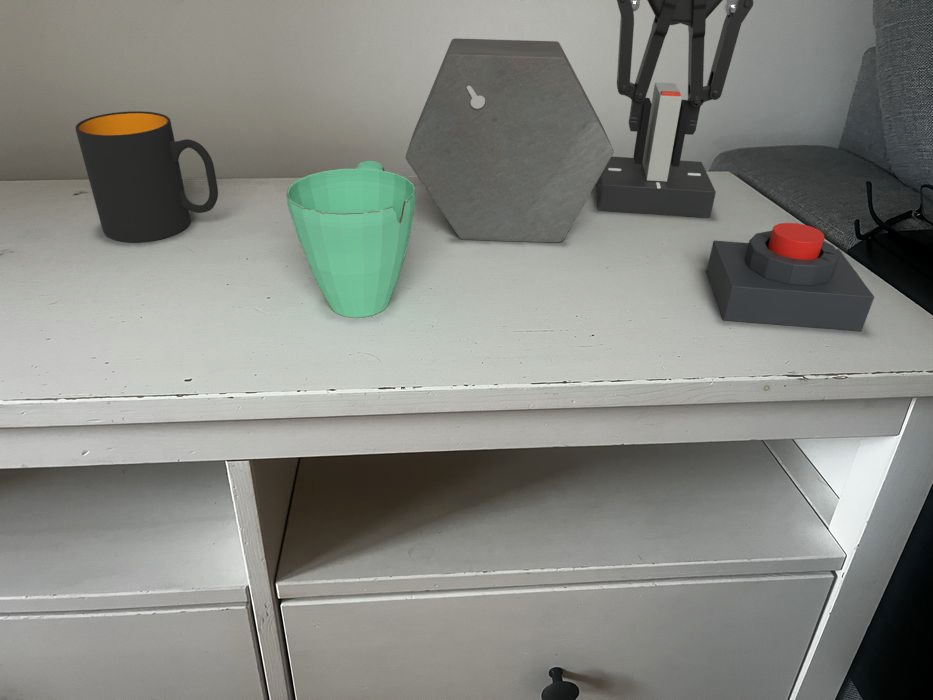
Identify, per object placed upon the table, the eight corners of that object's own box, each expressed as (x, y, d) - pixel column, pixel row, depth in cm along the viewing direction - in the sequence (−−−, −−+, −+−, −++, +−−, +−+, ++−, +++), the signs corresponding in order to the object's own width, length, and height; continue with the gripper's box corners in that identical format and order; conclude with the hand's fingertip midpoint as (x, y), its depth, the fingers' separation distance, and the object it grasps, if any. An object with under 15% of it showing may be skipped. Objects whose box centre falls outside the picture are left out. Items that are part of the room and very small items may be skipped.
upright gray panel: (642, 163, 84) (655, 80, 79) (661, 164, 84) (675, 81, 79) (646, 180, 79) (660, 93, 74) (667, 181, 79) (682, 94, 74)
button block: (828, 280, 66) (845, 230, 63) (861, 331, 59) (882, 276, 56) (706, 272, 67) (717, 221, 64) (723, 320, 60) (737, 266, 57)
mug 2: (411, 335, 56) (408, 216, 51) (287, 331, 57) (271, 211, 51) (427, 255, 69) (426, 151, 63) (324, 251, 69) (315, 148, 64)
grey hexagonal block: (627, 172, 76) (530, -14, 66) (639, 199, 69) (533, -3, 60) (488, 249, 81) (381, 87, 72) (488, 281, 74) (370, 107, 65)
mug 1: (210, 245, 70) (190, 138, 64) (87, 241, 70) (57, 134, 64) (236, 212, 76) (220, 113, 71) (125, 208, 77) (100, 109, 71)
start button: (810, 243, 62) (816, 224, 61) (824, 263, 58) (831, 243, 58) (763, 240, 62) (768, 221, 61) (773, 260, 59) (779, 240, 58)
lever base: (696, 185, 87) (701, 160, 85) (710, 218, 78) (716, 190, 76) (596, 179, 88) (599, 154, 86) (598, 211, 79) (602, 183, 77)
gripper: (610, -85, 65) (582, 167, 78) (797, -79, 64) (737, 177, 77) (607, -87, 72) (581, 146, 84) (777, -82, 70) (724, 155, 83)
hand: (655, 161), depth 80 cm, fingers open, 3 cm apart
